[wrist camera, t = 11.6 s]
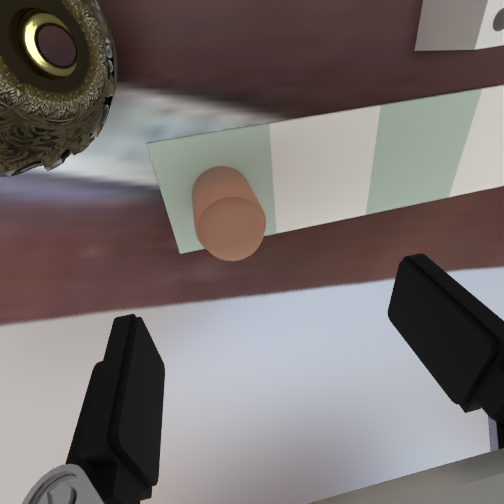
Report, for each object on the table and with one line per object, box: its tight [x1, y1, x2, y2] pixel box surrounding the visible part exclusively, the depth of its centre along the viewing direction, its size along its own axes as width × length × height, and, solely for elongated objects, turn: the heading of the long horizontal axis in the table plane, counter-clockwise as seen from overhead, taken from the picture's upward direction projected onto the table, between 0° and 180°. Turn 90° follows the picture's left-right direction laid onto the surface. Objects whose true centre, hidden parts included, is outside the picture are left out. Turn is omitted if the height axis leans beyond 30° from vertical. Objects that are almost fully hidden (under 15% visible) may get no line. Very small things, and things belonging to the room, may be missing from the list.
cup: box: [0, 0, 118, 177], centre depth 11 cm, size 8×7×8 cm
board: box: [146, 85, 504, 254], centre depth 21 cm, size 30×8×1 cm, turn 96°
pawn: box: [192, 166, 266, 261], centre depth 17 cm, size 4×4×6 cm
